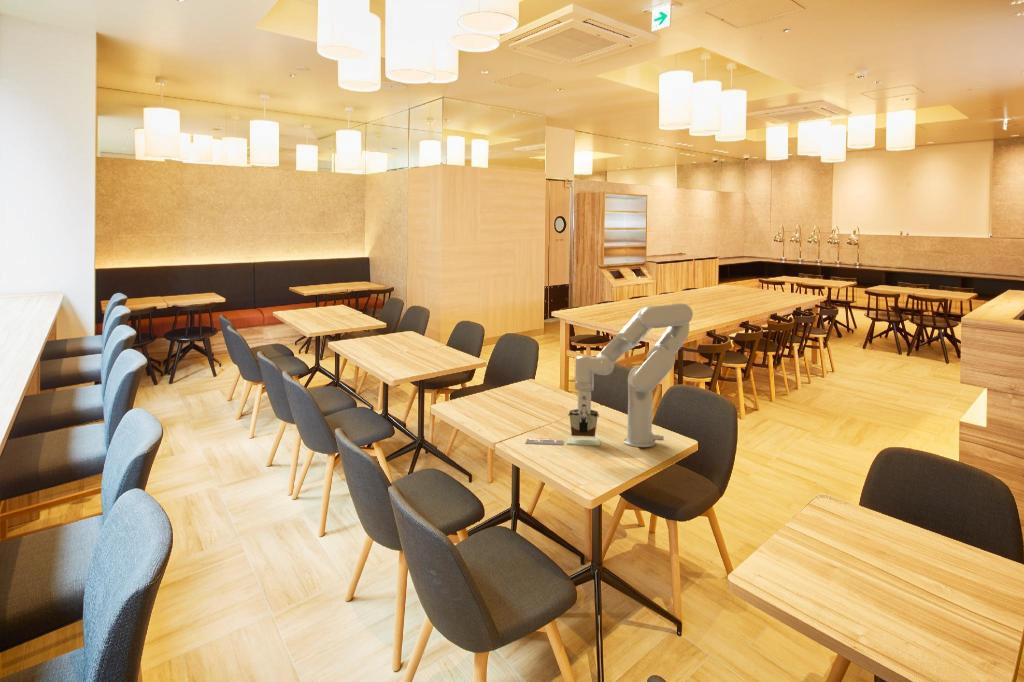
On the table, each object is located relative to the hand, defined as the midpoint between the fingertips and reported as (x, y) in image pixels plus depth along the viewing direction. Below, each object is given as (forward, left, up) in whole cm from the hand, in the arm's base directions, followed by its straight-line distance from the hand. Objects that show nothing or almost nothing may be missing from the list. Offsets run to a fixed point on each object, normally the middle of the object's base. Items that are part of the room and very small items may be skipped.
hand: (583, 430), depth 224 cm
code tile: (+15, +1, -5) cm, 16 cm away
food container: (0, -1, -2) cm, 2 cm away
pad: (0, 0, -5) cm, 5 cm away
